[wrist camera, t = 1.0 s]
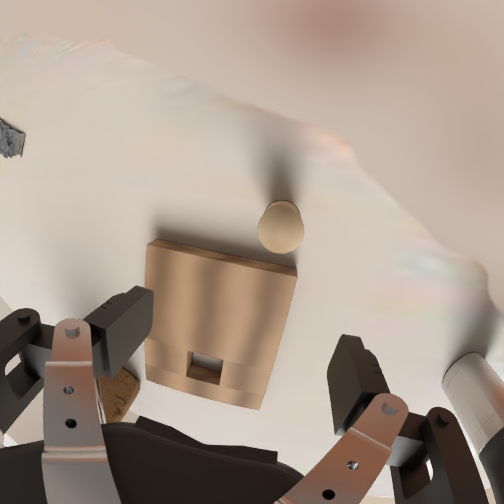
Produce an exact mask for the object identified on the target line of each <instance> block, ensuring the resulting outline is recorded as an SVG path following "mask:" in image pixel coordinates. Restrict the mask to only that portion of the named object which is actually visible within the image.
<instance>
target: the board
mask: <svg viewBox="0 0 504 504" xmlns="http://www.w3.org/2000/svg"><path fill="white" fill-rule="evenodd" d="M296 281H297V269H296V268H291V267H286V266H282V265H277V264H272V263H267V262H263V261H258V260H253V259H248V258H244V257H239V256H234V255H229V254H225V253H220V252H215V251H211V250H206V249H201V248H197V247H192V246H187V245H183V244H178V243H173V242H169V241H164V240H159V239H157V240H155V241H153V242H151V243H149V244H147V251H146V268H145V288H147V289H151V290H153V293H154V302H153V324H152V328H151V331H150V333H149V335H148V336H147V337H146V338H145V367H146V380H149V381H151V382H154V383H157V384H160V385H163V386H166V387H169V388H172V389H175V390H179V391H182V392H185V393H189V394H192V395H196V396H199V397H203V398H207V399H210V400H214V401H218V402H222V403H227V404H231V405H235V406H240V407H245V408H249V409H255V410H260V407H261V404H262V401H263V398H264V395H265V391H266V388H267V385H268V382H269V379H270V375H271V372H272V369H273V365H274V362H275V358H276V355H277V352H278V348H279V345H280V341H281V338H282V334H283V330H284V327H285V323H286V319H287V316H288V312H289V308H290V305H291V301H292V297H293V293H294V289H295V285H296ZM193 352H195V353H198V354H202V355H206V356H210V357H214V358H218V359H222V360H224V361H223V367H222V373H221V372H217V371H213V370H209V369H206V368H202V367H198V366H195V365H192V357H193Z"/></svg>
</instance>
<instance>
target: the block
mask: <svg viewBox="0 0 504 504" xmlns="http://www.w3.org/2000/svg"><path fill="white" fill-rule="evenodd" d="M98 380H99V386H100V392H101V398H102V404H103V409H104V414H105V419H106V423H111V422H121V420H122V419H123V417H124V416H125V414H126V413H127V411H128V409H129V408H130V406H131V405H132V403H133V401H134V400H135V398H136V396H137V394H138V392H139V390H140V384H139V382H138V381H137V380H136V379H135V378H134V377H133V376H132V375H131V374H130V373H129V372H127V371H126V370H125V369H123V368H121V369H120V370H119V371H118V373H117V374H116V375H115V376H114V378H113V379H110V378H107V377H105V376H103V375H102V376H101V377H100V378H99V379H98Z"/></svg>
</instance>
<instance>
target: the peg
mask: <svg viewBox="0 0 504 504" xmlns="http://www.w3.org/2000/svg"><path fill="white" fill-rule="evenodd" d="M257 233H258V238H259V240H260V242H261V244H262V245H263V246H264V247H265V248H266V249H268V250H269V251H271V252H274V253H279V254H283V253H288V252H291V251H293V250H294V249H296V248H297V247H298V246H299V244H300V243H301V241H302V239H303V236H304V225H303V222H302V219H301V215H300V212H299V210H298V208H297V207H296V206H295V205H294V204H293V203H291V202H289V201H286V200H278V201H275V202H273V203H271V204H270V205H269V206H268V207H267V208H266V210H265V212H264V214H263V215H262V217H261V219H260V220H259V223H258V227H257Z"/></svg>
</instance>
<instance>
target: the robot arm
mask: <svg viewBox="0 0 504 504" xmlns="http://www.w3.org/2000/svg"><path fill="white" fill-rule="evenodd" d="M153 302H154V293H153V290H151V289H147V288H144V287H140V286H137V285H136V286H134V287H133V288H132V289H131V290H129V291H128V292H127V293H121V294H118V295H115V296H113V297H111V298H110V299H109V300H107V301H106V303H103V304H102V305H101V306H100V307H98V308H97V309H96V310H94V311H93V312H92V313H90V314H89V315H88V316H87V317H85V318H84V319H83V320H80V319H75V318H71V319H65V320H62V321H60V322H59V323H58V324H57V325H56V326H50V325H46V324H41V321H40V315H39V313H38V312H37V311H35V310H33V309H29V308H23V309H18V310H16V311H14V312H13V313H11V314H10V315H8V316H7V317H5V318H4V319H3V320H1V321H0V504H359V503H360V502H361V500H362V499H363V498H364V496H365V495H366V493H367V492H368V490H369V489H370V487H371V486H372V484H373V483H374V481H375V480H376V478H377V477H378V475H379V474H380V472H381V470H382V469H383V467H384V465H385V464H387V465H390V470H391V476H392V482H393V489H394V497H395V504H489V502H488V499H487V496H486V492H485V489H484V486H483V483H482V480H481V477H480V475H479V472H478V469H477V466H476V464H475V461H474V458H473V456H472V453H471V451H470V448H469V446H468V444H467V441H466V439H465V436H464V434H463V432H462V430H461V427H460V425H459V423H458V421H457V419H456V417H455V416H454V414H453V413H452V412H450V411H449V410H447V409H445V408H442V407H434V408H432V409H431V410H430V411H429V412H428V413H427V415H426V416H422V415H418V414H414V413H411V412H409V410H408V406H407V404H406V403H405V402H404V401H403V400H402V399H401V398H400V397H398V396H396V395H393V394H391V393H390V391H389V388H388V385H387V383H386V380H385V378H384V375H383V374H382V370H381V368H380V367H379V363H378V361H377V358H376V357H375V356H374V355H373V354H372V353H371V352H370V351H369V350H367V349H365V348H364V345H363V343H362V340H361V338H360V337H358V336H351V335H345V334H343V335H341V337H340V339H339V341H338V344H337V346H336V349H335V351H334V354H333V356H332V358H331V361H330V363H329V366H328V370H327V380H328V387H329V394H330V401H331V408H332V416H333V423H334V432H335V435H341V436H342V437H341V439H340V440H339V441H338V442H337V443H336V444H335V445H334V447H333V448H332V449H331V450H330V451H329V452H328V453H327V454H326V455H325V456H324V457H323V458H322V460H321V461H320V462H319V463H318V464H317V465H316V466H315V467H314V468H313V469H312V470H311V471H310V472H309V473H308V474H307V475H306V476H303V475H302V474H301V473H300V472H298V471H297V470H295V469H293V468H292V467H290V466H288V465H286V464H283V463H281V462H278V461H277V455H278V452H277V451H270V450H264V449H258V448H252V447H247V446H227V445H207V444H203V443H201V442H199V441H197V440H195V439H193V438H191V437H189V436H187V435H185V434H183V433H182V432H180V431H178V430H176V429H174V428H173V427H171V426H168V425H165V424H162V423H159V422H156V421H153V420H151V419H148V418H145V417H143V416H139V418H138V419H137V421H136V423H128V422H111V423H106V419H105V414H104V409H103V404H102V398H101V392H100V386H99V380H98V379H99V378H100V377H101V376H102V375H103V376H105V377H107V378H110V379H113V378H114V376H115V375H116V374H117V373H118V371H119V370H120V369H121V368H122V367H123V365H124V364H125V363H126V362H127V360H128V359H129V358H130V357H131V355H132V354H133V353H134V352H135V351H136V349H137V348H138V347H139V346H140V345H141V343H142V342H143V341H144V340H145V338H146V337H147V336H148V335H149V333H150V331H151V328H152V324H153ZM17 354H19V357H20V360H21V362H20V363H19V364H18V365H17V366H16V367H15V368H14V369H13V370H12V371H11V372H10V373H9V374H8V375H7V376H6V375H5V367H6V364H7V363H8V362H9V361H10V360H11V359H12V358H13V357H14V356H15V355H17ZM43 387H44V393H43V430H44V440H41V441H37V442H32V443H27V444H22V445H16V446H11V447H3V446H2V445H3V442H4V434H5V433H6V431H7V430H8V429H9V428H10V426H11V425H12V424H13V422H14V421H15V420H16V419H17V418H18V416H19V415H20V414H21V413H22V411H24V409H25V408H26V407H27V406H28V405H29V403H30V402H31V401H32V400H33V399H34V398H35V396H36V395H37V394H38V393H39V392H40V391H41V390H42V388H43ZM442 387H443V390H444V392H445V393H446V395H447V397H448V399H449V400H450V402H451V404H452V406H453V408H454V410H455V412H456V413H457V415H458V417H459V419H460V421H461V423H462V425H463V427H464V428H465V430H466V432H467V434H468V436H469V438H470V440H471V442H472V444H473V446H474V448H475V450H476V453H477V455H478V457H479V459H480V461H481V463H482V465H483V467H484V469H485V472H486V474H487V476H488V479H489V481H490V484H491V487H492V490H493V493H494V497H495V501H496V504H504V382H503V381H502V380H501V378H500V377H499V376H498V375H497V373H496V372H495V371H494V370H493V369H492V367H491V366H490V365H489V364H488V363H487V361H486V360H484V359H483V357H482V356H481V355H480V354H479V353H475V352H473V353H469V354H467V355H465V356H463V357H461V358H460V359H459V360H457V361H456V362H455V363H454V364H453V365H452V366H451V367H450V369H449V370H448V371H447V373H446V375H445V377H444V379H443V382H442ZM429 459H430V461H431V465H432V468H433V477H432V480H431V481H430V476H429V473H428V469H427V465H426V462H427V461H428V460H429Z"/></svg>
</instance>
